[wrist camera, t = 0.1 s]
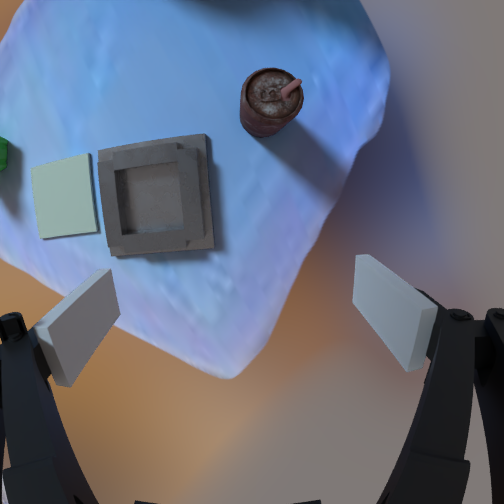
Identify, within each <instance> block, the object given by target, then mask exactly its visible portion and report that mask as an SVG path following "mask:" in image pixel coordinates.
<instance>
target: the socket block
mask: <svg viewBox="0 0 504 504" xmlns="http://www.w3.org/2000/svg"><path fill="white" fill-rule="evenodd" d="M98 159H99V162H98V163H97V164H98V175H99V186H100V195H101V203H102V211H103V218H104V225H105V231H106V237H107V243H108V247H110V253H111V256H123V255H135V254H147V253H159V252H172V251H184V250H197V249H209V248H215V241H214V231H213V220H212V209H211V198H210V186H209V174H208V160H207V147H206V134H196V135H187V136H179V137H172V138H165V139H158V140H151V141H145V142H139V143H133V144H128V145H122V146H117V147H112V148H107V149H102V150H98Z"/></svg>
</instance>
